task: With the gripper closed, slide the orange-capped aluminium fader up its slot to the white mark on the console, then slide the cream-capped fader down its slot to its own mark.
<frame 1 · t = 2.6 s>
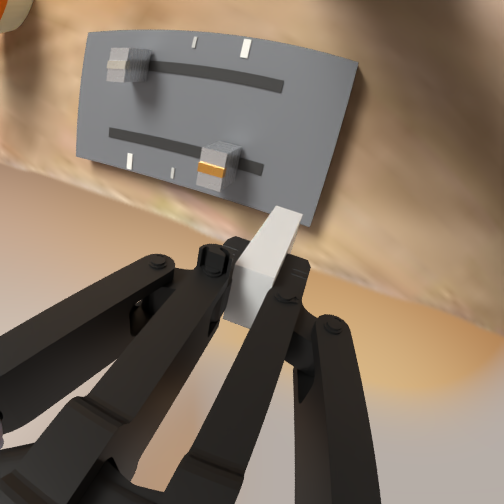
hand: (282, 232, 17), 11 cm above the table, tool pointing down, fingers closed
console: (193, 107, 26), on the table
reusable coffee cup: (19, 3, 24), on the table
fader B: (128, 64, 22), point 4 cm above the table, slide at 5.0 cm
fader A: (219, 165, 24), point 4 cm above the table, slide at -5.0 cm
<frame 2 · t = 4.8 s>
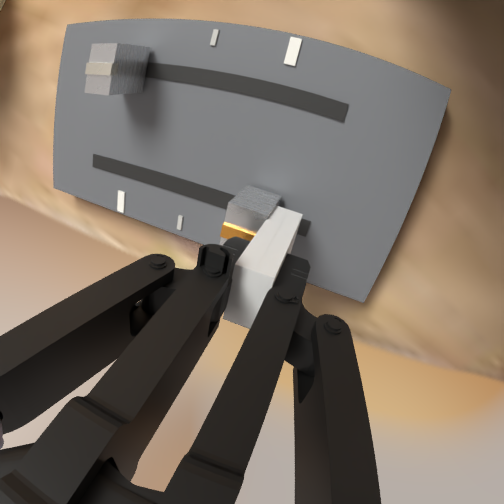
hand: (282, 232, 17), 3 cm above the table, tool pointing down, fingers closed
console: (208, 130, 19), on the table
fader B: (116, 68, 15), point 4 cm above the table, slide at 5.0 cm
fader A: (250, 224, 17), point 4 cm above the table, slide at -5.0 cm, touching gripper
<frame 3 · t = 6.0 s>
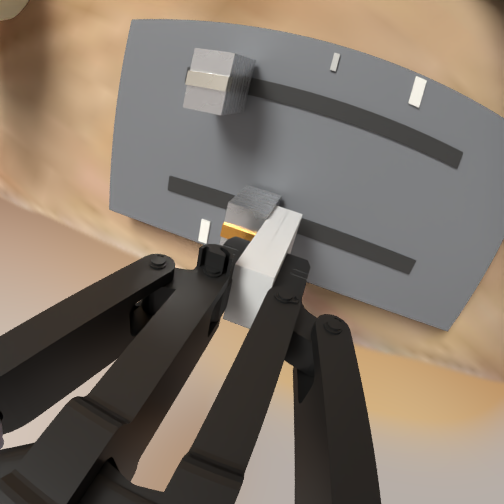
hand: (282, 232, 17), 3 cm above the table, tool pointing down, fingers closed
console: (310, 159, 19), on the table
fader B: (220, 81, 14), point 4 cm above the table, slide at 5.0 cm
fader A: (250, 224, 17), point 4 cm above the table, slide at 1.8 cm, touching gripper
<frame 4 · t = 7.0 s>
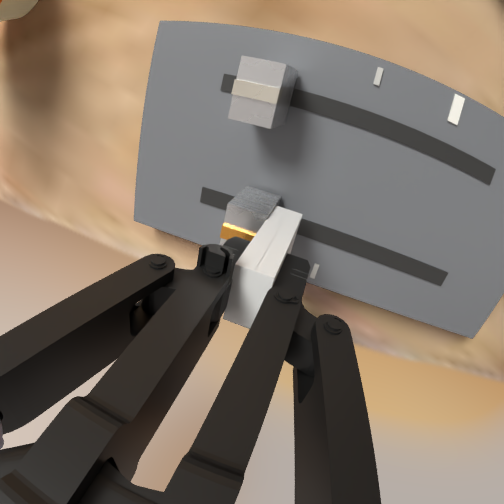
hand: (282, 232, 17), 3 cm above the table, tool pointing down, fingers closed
console: (347, 172, 18), on the table
fader B: (265, 91, 14), point 4 cm above the table, slide at 5.0 cm
fader A: (250, 225, 17), point 4 cm above the table, slide at 4.2 cm, touching gripper
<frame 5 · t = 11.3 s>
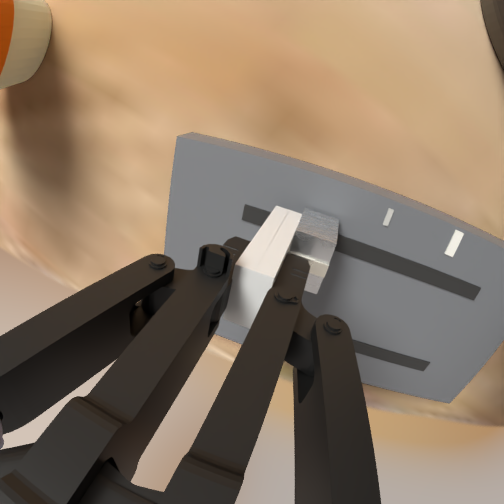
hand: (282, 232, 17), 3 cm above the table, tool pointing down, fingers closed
console: (351, 284, 21), on the table
reusable coffee cup: (26, 40, 19), on the table
fader B: (310, 249, 17), point 4 cm above the table, slide at 3.6 cm, touching gripper
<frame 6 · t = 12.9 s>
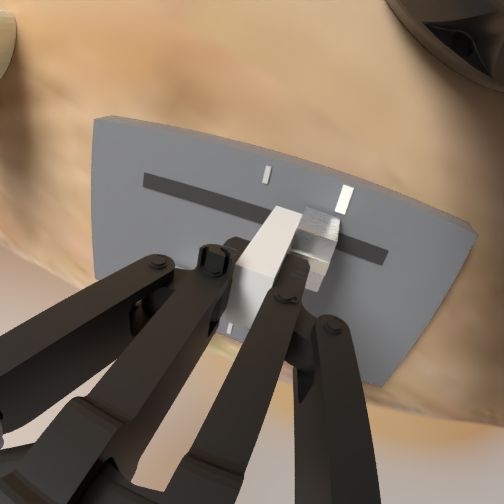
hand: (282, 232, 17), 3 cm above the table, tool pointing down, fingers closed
console: (254, 249, 22), on the table
fader B: (311, 248, 17), point 4 cm above the table, slide at -3.6 cm, touching gripper
fader A: (169, 297, 21), point 4 cm above the table, slide at 4.2 cm
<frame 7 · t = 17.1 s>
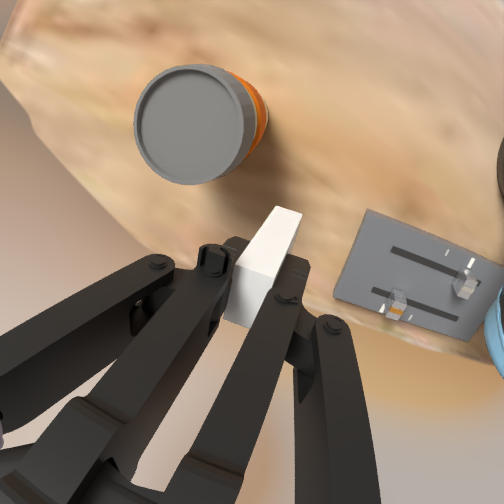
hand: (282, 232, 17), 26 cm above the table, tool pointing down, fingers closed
console: (426, 279, 43), on the table
reusable coffee cup: (236, 115, 41), on the table
fader B: (464, 283, 37), point 4 cm above the table, slide at -4.2 cm
fader A: (395, 304, 42), point 4 cm above the table, slide at 4.2 cm
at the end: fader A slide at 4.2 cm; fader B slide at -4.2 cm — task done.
